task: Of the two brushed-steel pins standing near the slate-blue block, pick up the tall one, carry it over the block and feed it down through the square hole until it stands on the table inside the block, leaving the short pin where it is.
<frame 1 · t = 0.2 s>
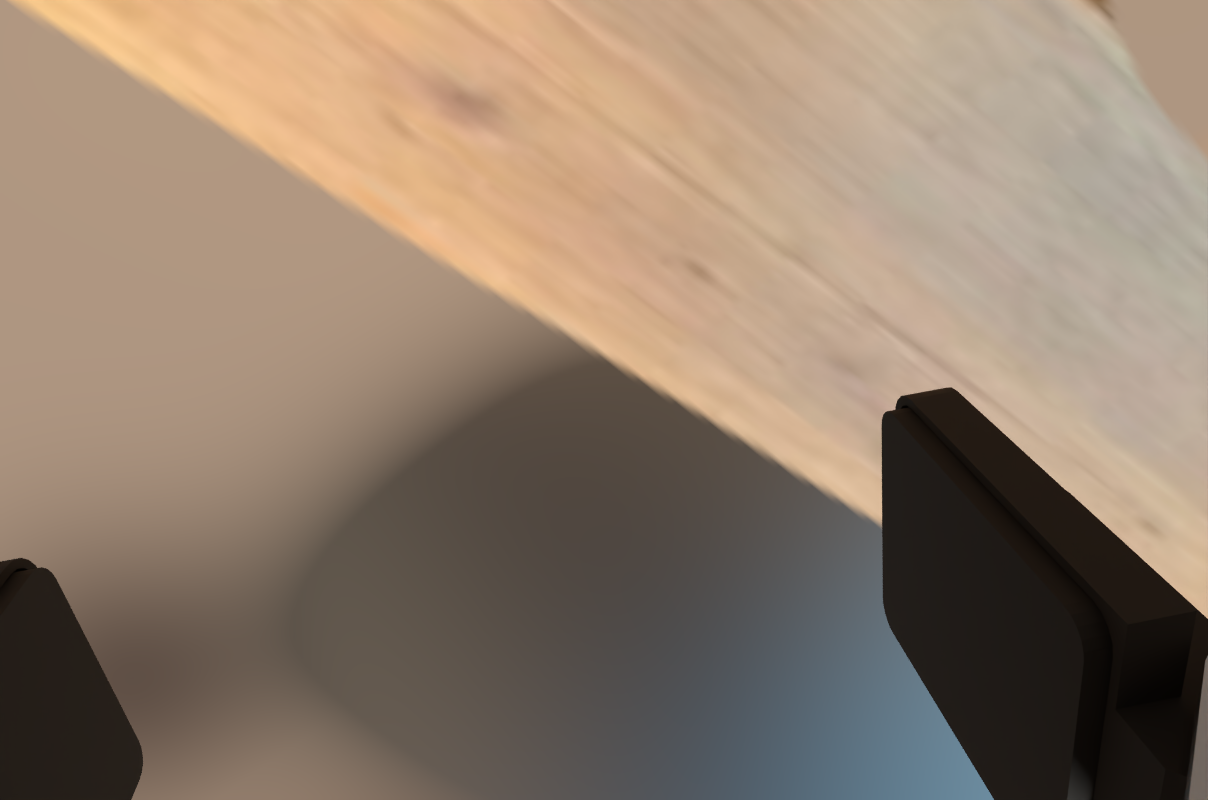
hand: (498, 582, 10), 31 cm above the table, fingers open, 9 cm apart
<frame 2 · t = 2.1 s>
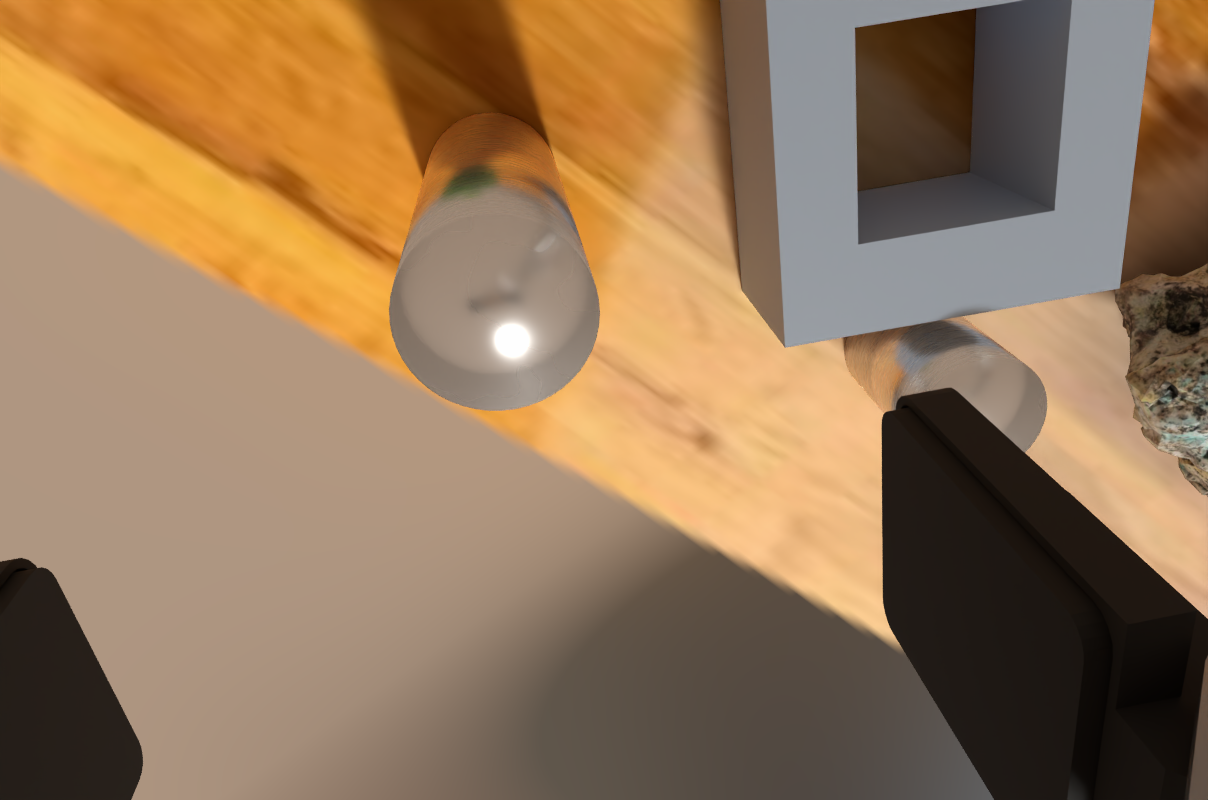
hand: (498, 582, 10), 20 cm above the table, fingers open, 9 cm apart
hole block: (886, 97, 29), on the table
long pin: (492, 179, 28), on the table
short pin: (899, 343, 32), on the table
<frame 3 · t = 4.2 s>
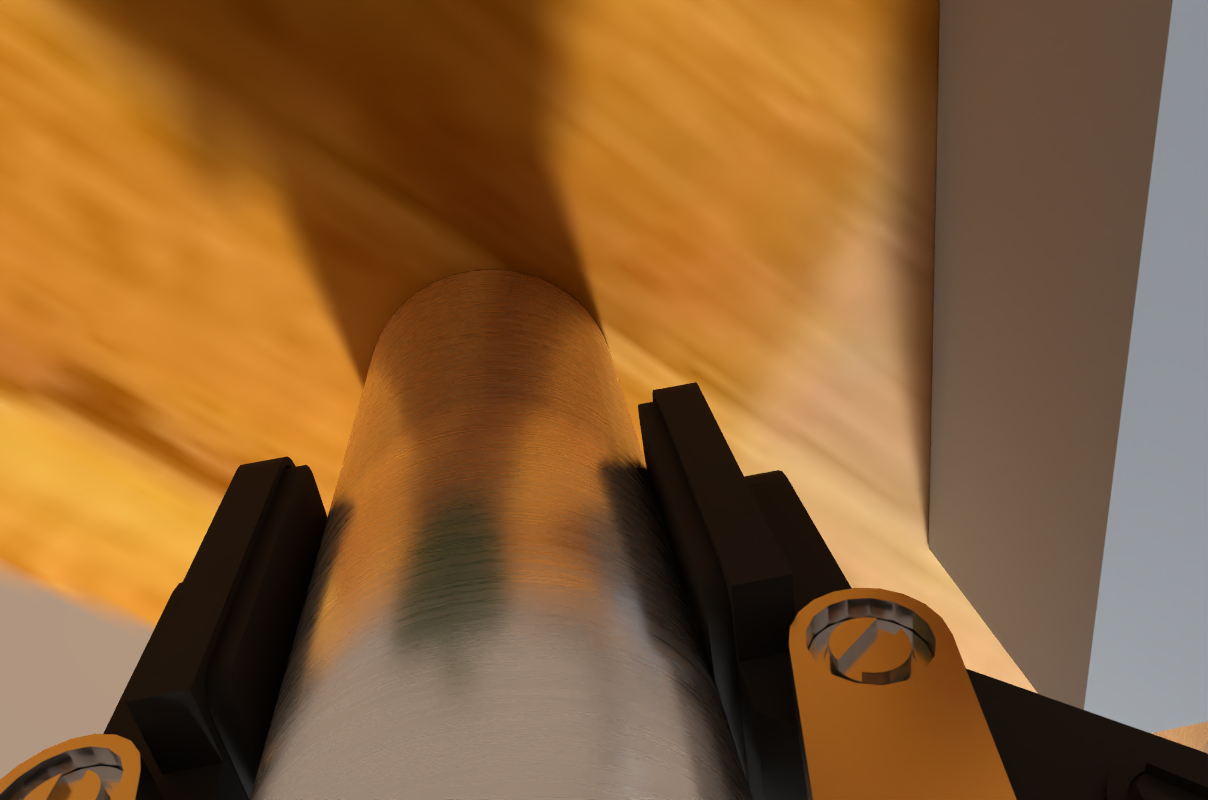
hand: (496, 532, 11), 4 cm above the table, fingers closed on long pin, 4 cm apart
long pin: (493, 386, 15), on the table, touching gripper
short pin: (1178, 614, 19), on the table
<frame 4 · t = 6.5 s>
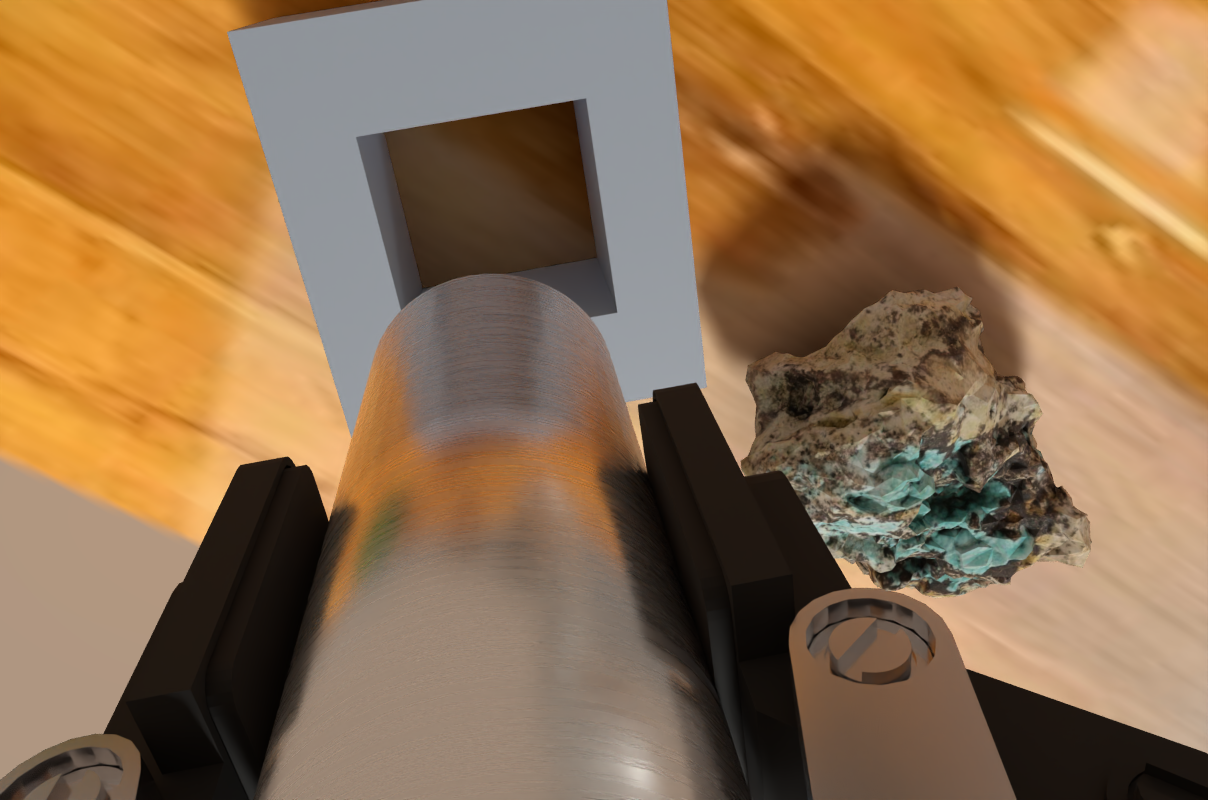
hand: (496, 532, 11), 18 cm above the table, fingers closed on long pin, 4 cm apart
hole block: (492, 185, 28), on the table
mineral specimen: (891, 426, 34), on the table
long pin: (494, 389, 15), point 14 cm above the table, touching gripper
when the fingers open (7 cm above the table, at t = 8.8 s): long pin drops 2 cm, resting in hole block.
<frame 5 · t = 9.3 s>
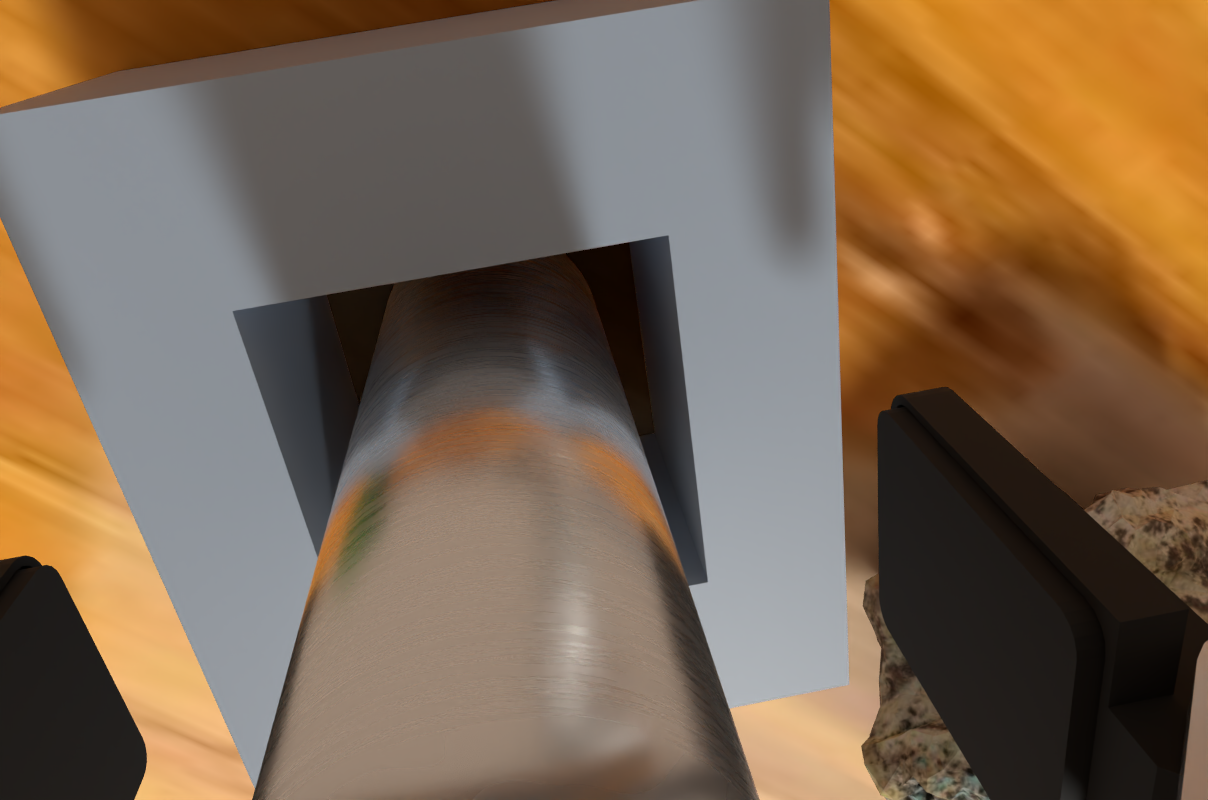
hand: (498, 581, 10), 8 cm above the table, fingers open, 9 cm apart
hole block: (492, 331, 17), on the table
mineral specimen: (1055, 643, 23), on the table
long pin: (492, 330, 17), resting in hole block
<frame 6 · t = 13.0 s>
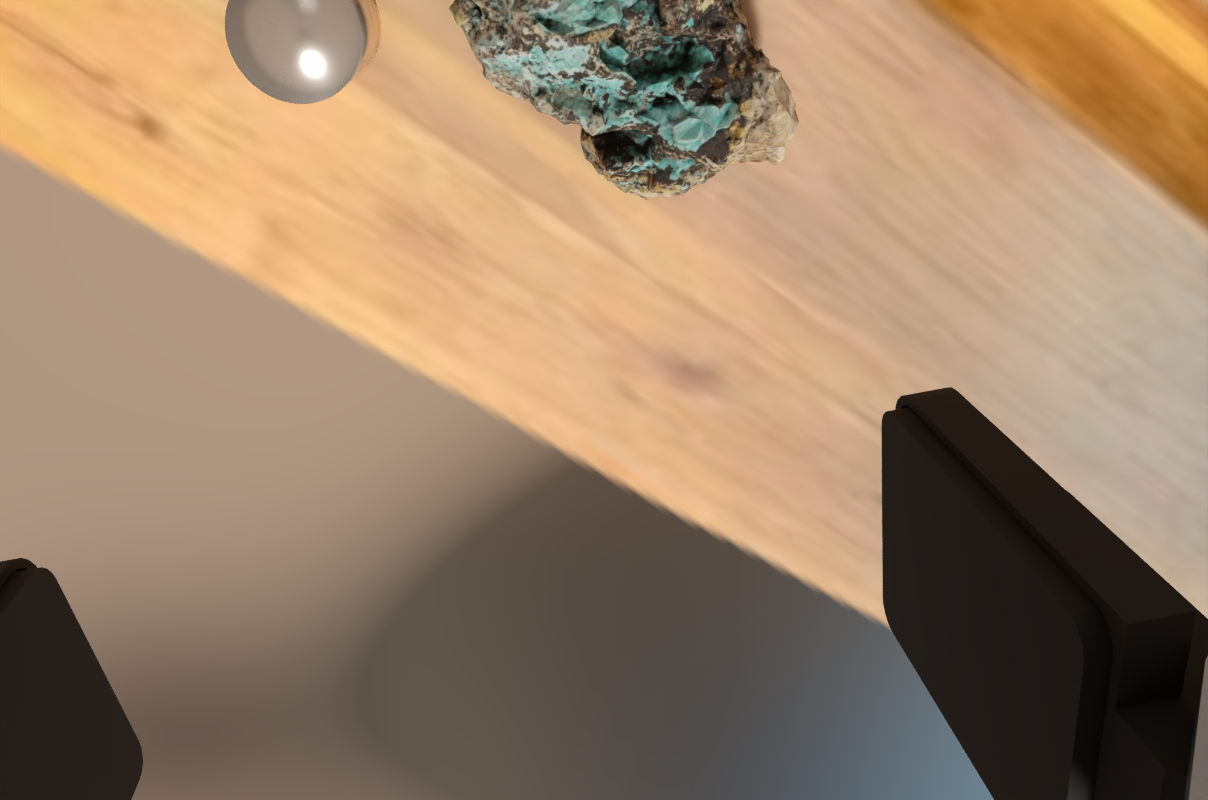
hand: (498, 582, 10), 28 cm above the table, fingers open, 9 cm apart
mineral specimen: (633, 40, 35), on the table
short pin: (324, 22, 33), on the table
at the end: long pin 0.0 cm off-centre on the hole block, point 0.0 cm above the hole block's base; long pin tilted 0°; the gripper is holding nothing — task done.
